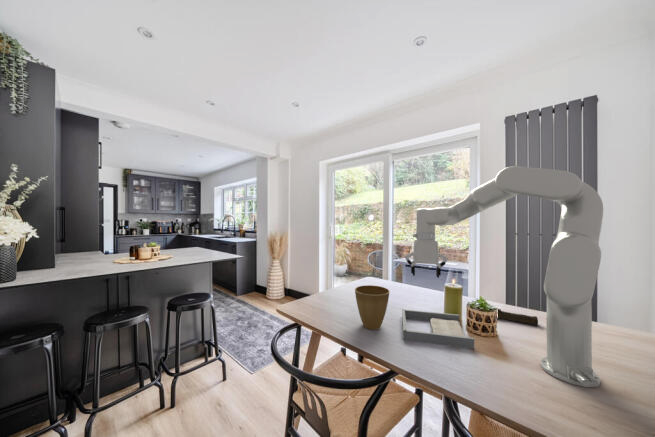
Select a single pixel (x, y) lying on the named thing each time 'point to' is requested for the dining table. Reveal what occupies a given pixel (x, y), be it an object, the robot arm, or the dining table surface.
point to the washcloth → (446, 327)
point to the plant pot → (372, 305)
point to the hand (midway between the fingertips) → (425, 276)
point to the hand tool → (518, 317)
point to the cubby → (433, 337)
